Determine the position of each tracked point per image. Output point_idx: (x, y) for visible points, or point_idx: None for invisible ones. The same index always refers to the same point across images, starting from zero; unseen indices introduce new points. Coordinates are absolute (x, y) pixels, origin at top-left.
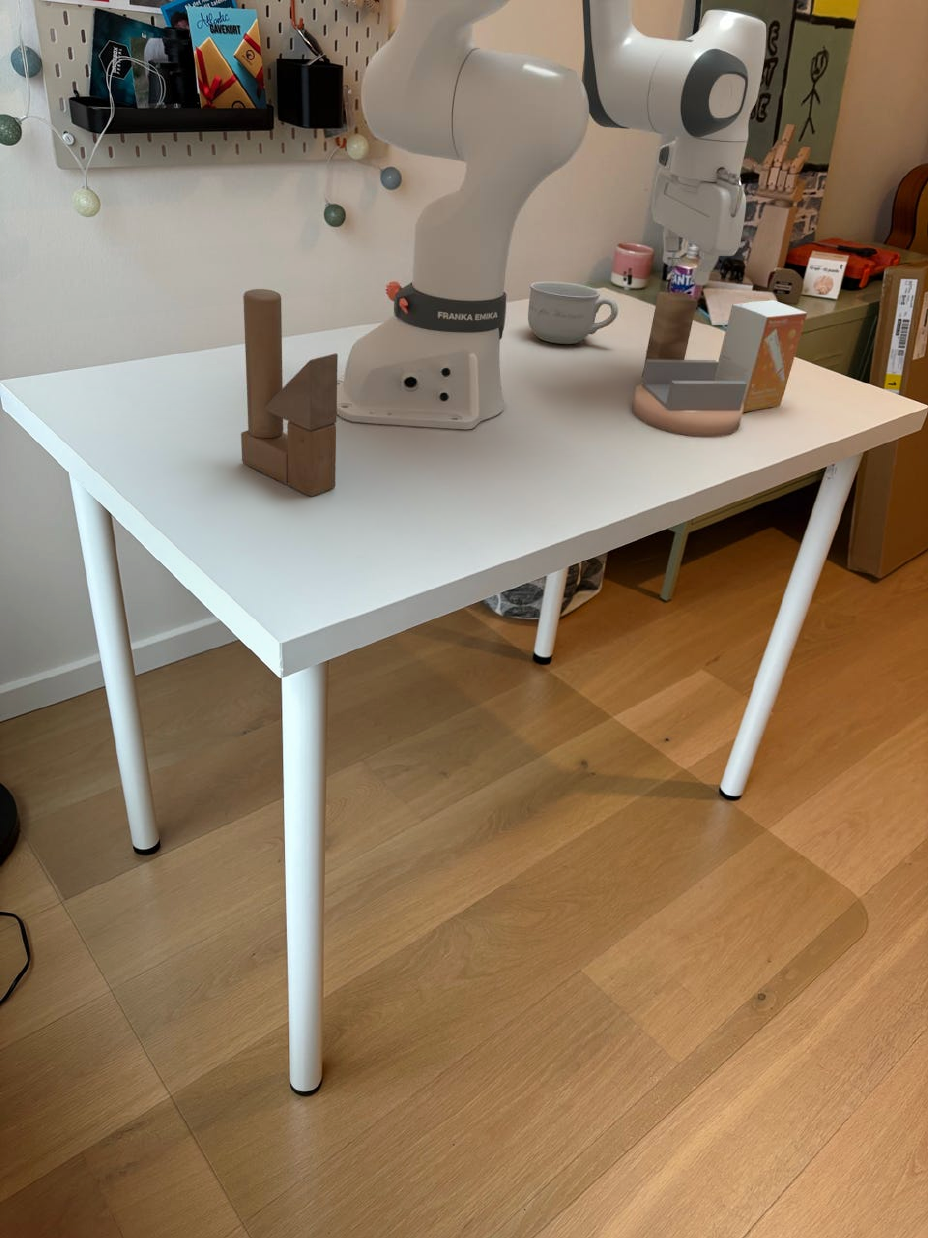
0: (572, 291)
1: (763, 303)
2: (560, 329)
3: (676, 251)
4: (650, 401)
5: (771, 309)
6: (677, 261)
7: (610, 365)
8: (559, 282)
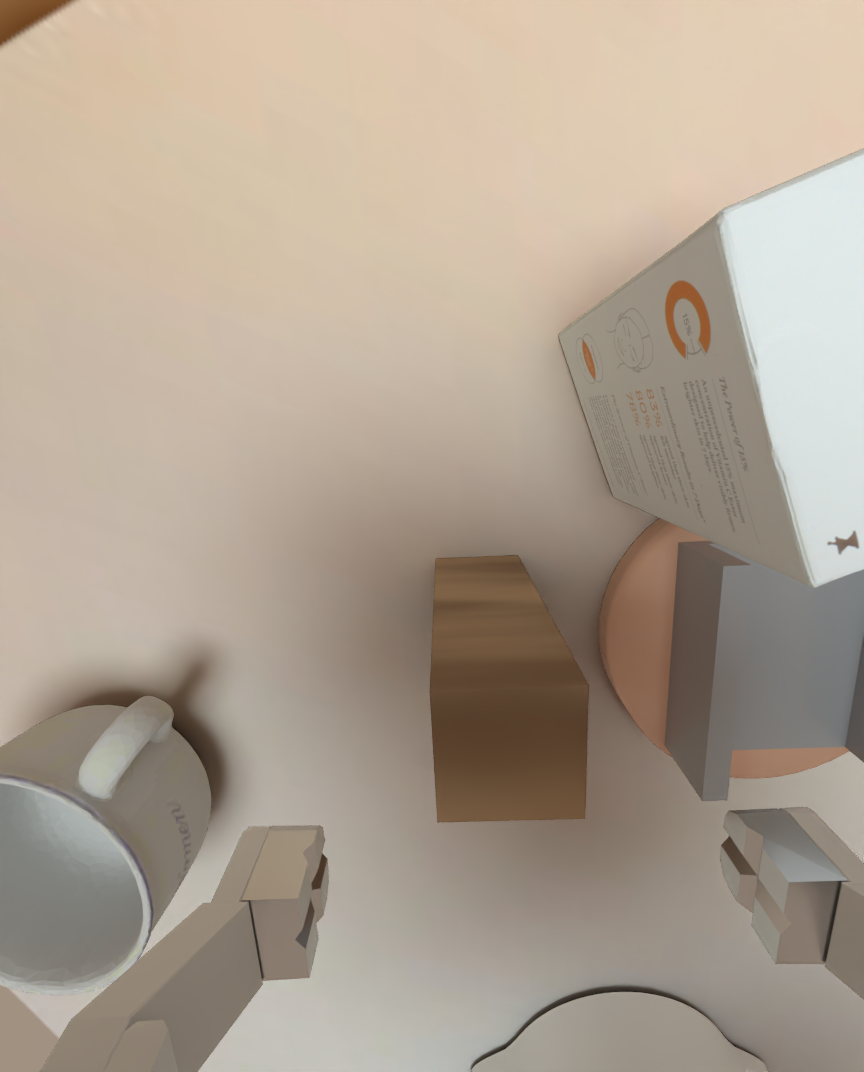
0: None
1: (822, 354)
2: (206, 831)
3: (266, 914)
4: (788, 761)
5: None
6: (317, 846)
7: (352, 690)
8: None
